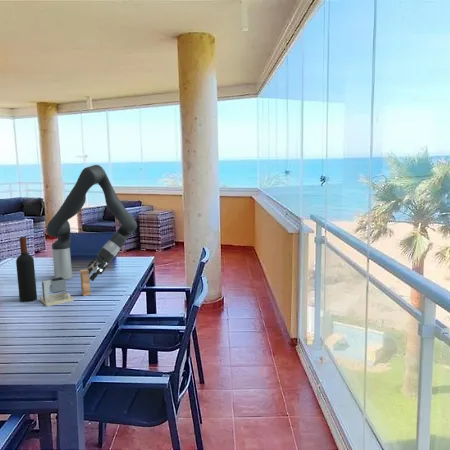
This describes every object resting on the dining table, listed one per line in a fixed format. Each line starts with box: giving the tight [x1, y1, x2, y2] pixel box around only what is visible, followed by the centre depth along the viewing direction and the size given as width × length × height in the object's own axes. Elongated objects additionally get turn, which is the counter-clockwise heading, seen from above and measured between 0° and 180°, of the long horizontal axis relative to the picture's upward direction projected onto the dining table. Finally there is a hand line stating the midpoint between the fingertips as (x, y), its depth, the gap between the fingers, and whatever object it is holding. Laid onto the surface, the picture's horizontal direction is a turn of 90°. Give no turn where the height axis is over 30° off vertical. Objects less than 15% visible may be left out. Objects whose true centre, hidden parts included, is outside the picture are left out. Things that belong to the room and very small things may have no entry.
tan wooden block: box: [79, 268, 91, 297], centre depth 208 cm, size 3×3×12 cm
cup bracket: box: [39, 277, 74, 307], centre depth 200 cm, size 12×12×10 cm
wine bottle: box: [15, 236, 38, 303], centre depth 201 cm, size 8×8×30 cm
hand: (87, 278), depth 209 cm, fingers open, 8 cm apart
